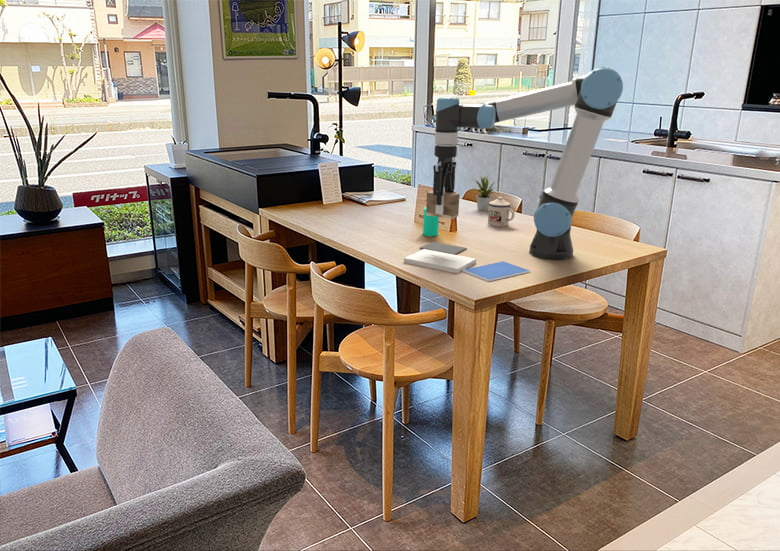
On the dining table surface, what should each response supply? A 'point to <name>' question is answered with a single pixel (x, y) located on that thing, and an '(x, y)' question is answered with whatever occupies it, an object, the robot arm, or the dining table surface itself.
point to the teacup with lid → (499, 212)
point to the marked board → (440, 260)
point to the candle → (430, 224)
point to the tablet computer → (495, 271)
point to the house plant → (483, 194)
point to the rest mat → (443, 248)
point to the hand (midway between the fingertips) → (443, 212)
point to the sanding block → (449, 205)
